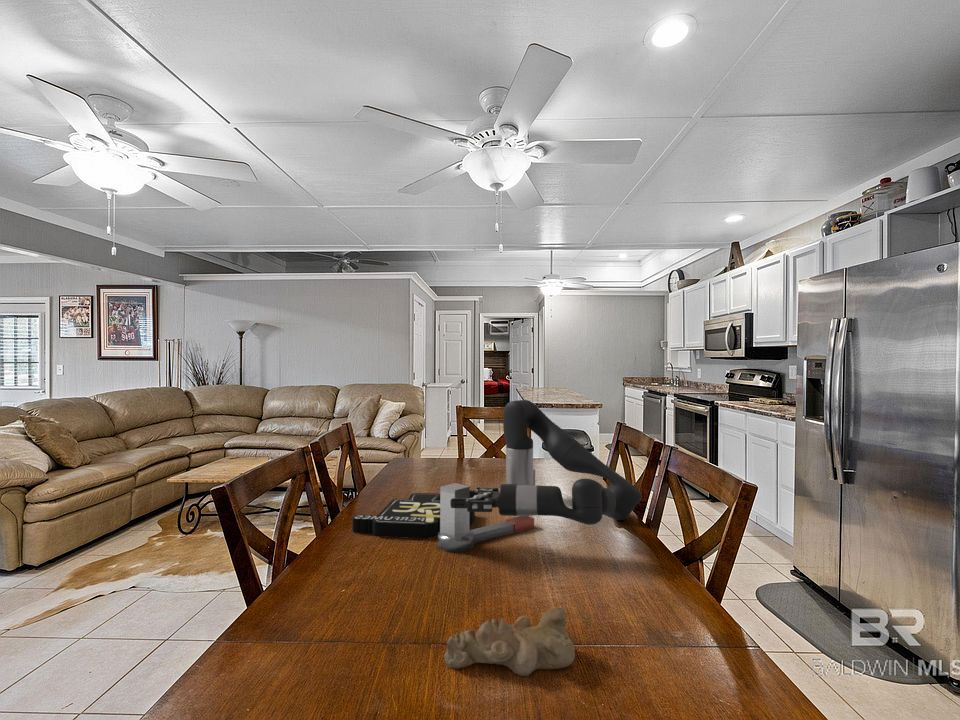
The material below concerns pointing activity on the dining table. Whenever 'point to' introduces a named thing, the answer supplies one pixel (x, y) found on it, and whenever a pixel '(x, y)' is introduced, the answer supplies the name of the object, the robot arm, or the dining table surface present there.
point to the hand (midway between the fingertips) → (454, 498)
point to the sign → (405, 518)
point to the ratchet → (485, 534)
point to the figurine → (515, 644)
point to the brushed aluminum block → (453, 511)
